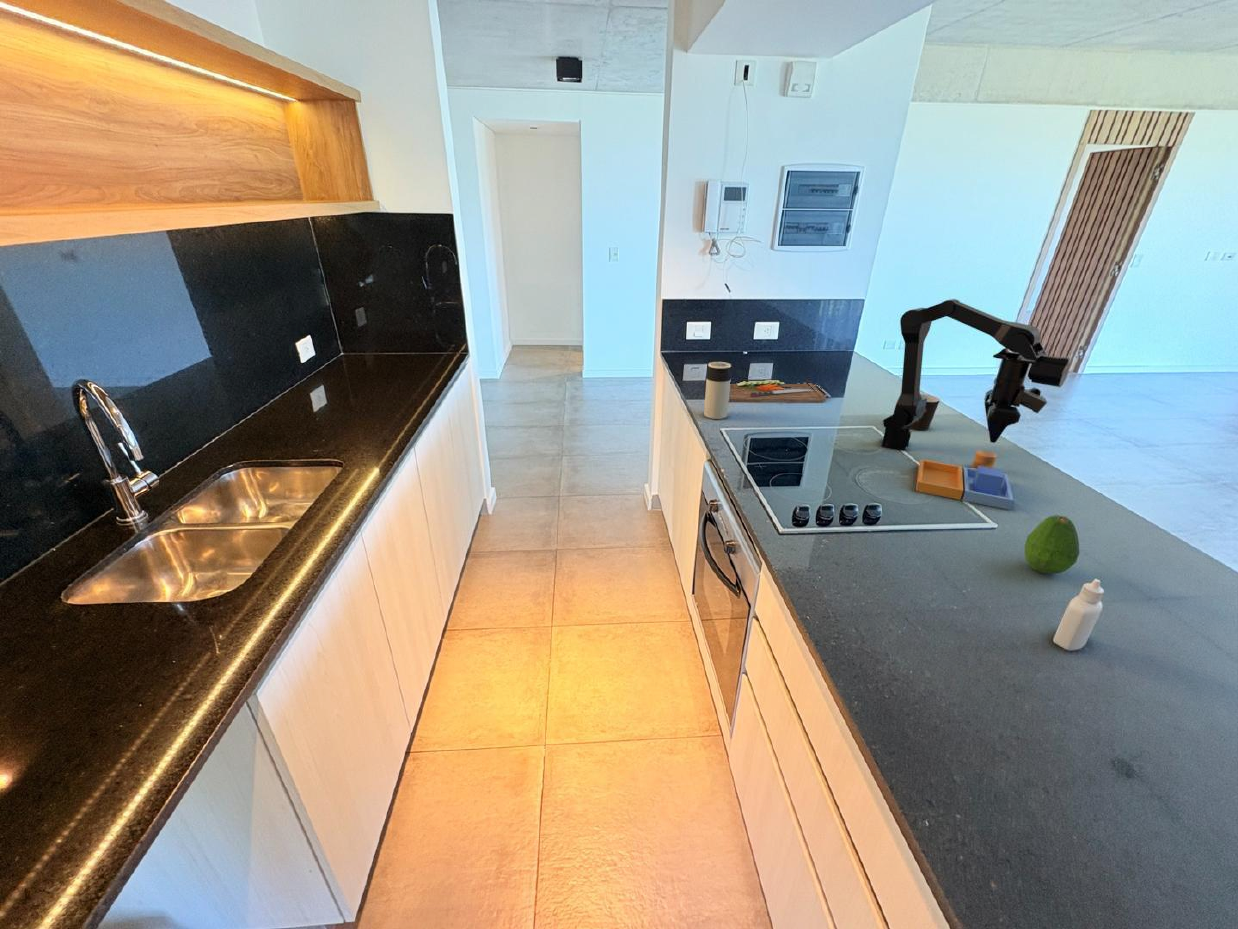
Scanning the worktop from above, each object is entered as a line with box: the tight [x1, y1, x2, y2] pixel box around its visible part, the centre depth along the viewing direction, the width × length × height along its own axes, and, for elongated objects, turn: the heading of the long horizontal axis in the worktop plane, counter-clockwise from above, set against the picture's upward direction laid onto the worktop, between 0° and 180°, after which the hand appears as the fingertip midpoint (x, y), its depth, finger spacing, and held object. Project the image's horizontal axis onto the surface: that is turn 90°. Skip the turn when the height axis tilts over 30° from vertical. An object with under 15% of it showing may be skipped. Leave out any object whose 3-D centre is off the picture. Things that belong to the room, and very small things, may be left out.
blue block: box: [973, 466, 1004, 496], centre depth 130 cm, size 5×5×5 cm
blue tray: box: [961, 466, 1015, 511], centre depth 130 cm, size 10×16×3 cm, turn 150°
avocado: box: [1024, 514, 1080, 574], centre depth 99 cm, size 8×8×12 cm
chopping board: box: [729, 380, 832, 404], centre depth 207 cm, size 45×27×3 cm, turn 88°
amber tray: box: [915, 458, 963, 501], centre depth 135 cm, size 10×16×3 cm, turn 150°
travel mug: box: [703, 361, 732, 420], centre depth 178 cm, size 8×8×18 cm
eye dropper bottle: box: [1053, 578, 1105, 652], centre depth 82 cm, size 4×6×12 cm
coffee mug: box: [910, 393, 941, 432], centre depth 171 cm, size 12×9×10 cm
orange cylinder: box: [971, 449, 998, 469], centre depth 141 cm, size 5×5×5 cm
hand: (991, 436), depth 138 cm, fingers open, 9 cm apart
